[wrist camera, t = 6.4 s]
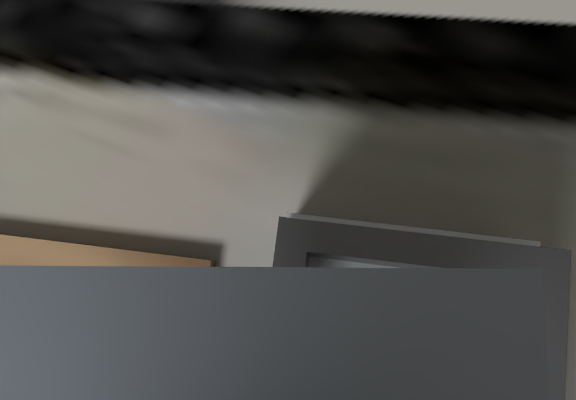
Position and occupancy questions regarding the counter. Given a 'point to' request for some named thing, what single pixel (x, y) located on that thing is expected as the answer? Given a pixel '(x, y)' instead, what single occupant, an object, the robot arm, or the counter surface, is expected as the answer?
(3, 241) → the walnut board
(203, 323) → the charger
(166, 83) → the counter surface
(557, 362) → the power strip
